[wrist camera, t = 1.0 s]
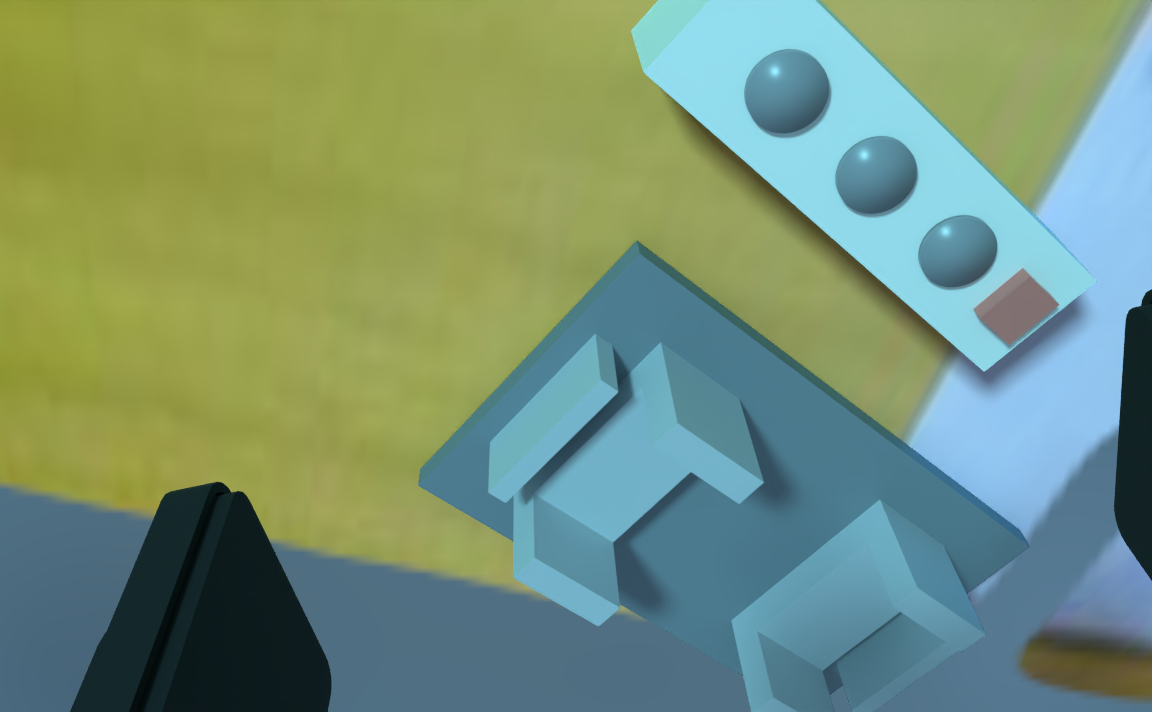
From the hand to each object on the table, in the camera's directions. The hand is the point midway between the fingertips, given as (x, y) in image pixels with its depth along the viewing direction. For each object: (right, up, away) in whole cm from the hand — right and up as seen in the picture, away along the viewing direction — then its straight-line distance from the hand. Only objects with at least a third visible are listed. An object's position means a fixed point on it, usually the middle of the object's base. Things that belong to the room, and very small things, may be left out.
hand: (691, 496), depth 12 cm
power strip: (+8, +9, +26) cm, 28 cm away
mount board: (+5, -5, +34) cm, 35 cm away
